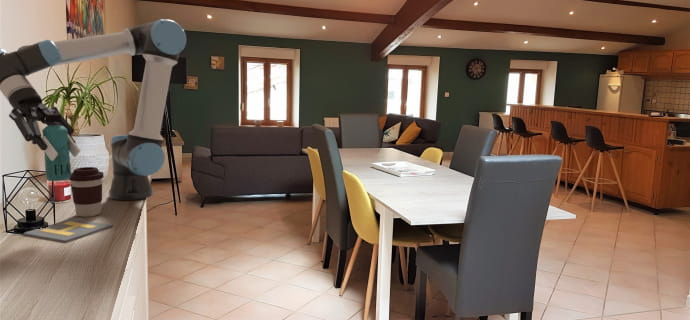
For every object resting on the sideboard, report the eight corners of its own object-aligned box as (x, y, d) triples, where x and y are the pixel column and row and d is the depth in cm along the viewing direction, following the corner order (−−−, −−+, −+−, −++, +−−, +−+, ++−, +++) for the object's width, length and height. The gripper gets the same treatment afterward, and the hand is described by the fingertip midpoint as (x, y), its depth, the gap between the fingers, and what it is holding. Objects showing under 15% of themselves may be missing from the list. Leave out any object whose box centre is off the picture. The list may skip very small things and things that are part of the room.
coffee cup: (90, 219, 156) (87, 172, 154) (64, 216, 159) (60, 170, 156) (112, 211, 166) (109, 167, 163) (87, 209, 168) (84, 165, 166)
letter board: (72, 220, 155) (72, 218, 155) (112, 226, 150) (112, 224, 150) (23, 234, 141) (23, 232, 141) (65, 242, 135) (65, 240, 135)
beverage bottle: (53, 187, 139) (47, 115, 136) (41, 183, 143) (35, 113, 139) (76, 183, 144) (71, 113, 141) (64, 180, 148) (59, 112, 145)
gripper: (46, 102, 154) (89, 159, 151) (-19, 105, 137) (27, 169, 133) (57, 85, 151) (101, 142, 148) (-8, 86, 134) (39, 151, 130)
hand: (66, 155), depth 141 cm, fingers closed on beverage bottle, 6 cm apart
